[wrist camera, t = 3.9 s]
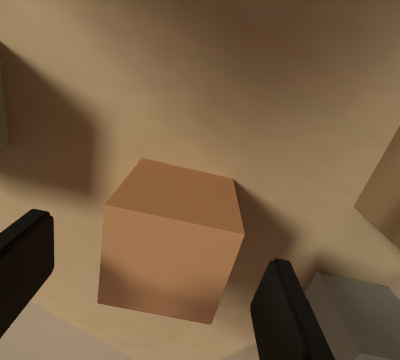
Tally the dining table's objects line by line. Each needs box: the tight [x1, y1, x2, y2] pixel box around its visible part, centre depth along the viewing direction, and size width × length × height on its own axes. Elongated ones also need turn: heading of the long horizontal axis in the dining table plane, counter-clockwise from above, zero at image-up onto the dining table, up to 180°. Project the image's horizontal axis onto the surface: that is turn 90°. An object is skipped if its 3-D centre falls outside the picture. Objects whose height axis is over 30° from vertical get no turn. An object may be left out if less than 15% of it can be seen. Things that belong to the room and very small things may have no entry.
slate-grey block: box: [304, 272, 400, 360], centre depth 14 cm, size 5×5×5 cm
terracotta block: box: [98, 158, 245, 325], centre depth 12 cm, size 5×5×5 cm
